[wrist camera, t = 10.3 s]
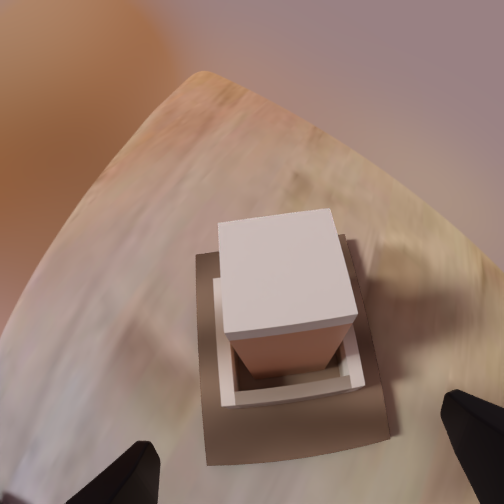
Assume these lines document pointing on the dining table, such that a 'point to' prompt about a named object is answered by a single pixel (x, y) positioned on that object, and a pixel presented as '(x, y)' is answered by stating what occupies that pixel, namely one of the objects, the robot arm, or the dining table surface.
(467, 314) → the dining table surface
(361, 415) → the square socket base
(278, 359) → the tan box white top
